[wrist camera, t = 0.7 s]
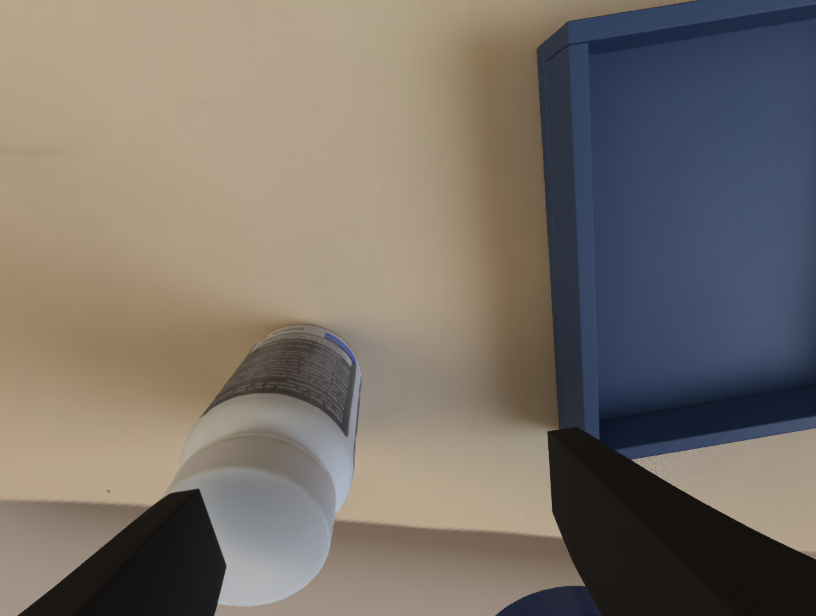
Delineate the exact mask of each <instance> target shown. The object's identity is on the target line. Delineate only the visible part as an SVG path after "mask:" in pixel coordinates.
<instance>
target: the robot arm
mask: <svg viewBox="0 0 816 616" xmlns="http://www.w3.org/2000/svg"><path fill="white" fill-rule="evenodd" d="M547 433H548V449H549V465H550V481H551V497H552V512H553V515H554V517H555V520H556V522H557V525H558V527H559V530H560V532H561V535H562V537H563V540H564V542H565V545H566V547H567V549H568V552H569V554H570V556H571V558H572V561H573V563H574V565H575V567H576V569H577V571H578V573H579V575H580V576H581V578H582V580H583V582H584V584H585V586H586V588H587V589H588V591H589V593H590V595H591V597H592V599H593V601H594V603H595V604H596V606H597V608H598V610H599V612H600V614H601V615H602V616H816V560H815V559H813V558H811V557H809V556H807V555H805V554H803V553H801V552H799V551H796V550H794V549H792V548H790V547H788V546H786V545H784V544H782V543H780V542H777V541H775V540H773V539H771V538H769V537H767V536H765V535H763V534H761V533H759V532H757V531H755V530H753V529H751V528H749V527H747V526H746V525H744V524H742V523H740V522H738V521H736V520H734V519H732V518H731V517H729V516H727V515H725V514H723V513H721V512H719V511H718V510H716V509H714V508H712V507H710V506H708V505H706V504H705V503H703V502H701V501H699V500H697V499H696V498H694V497H692V496H690V495H689V494H687V493H685V492H683V491H682V490H680V489H678V488H676V487H675V486H673V485H671V484H670V483H668V482H666V481H665V480H663V479H661V478H660V477H658V476H656V475H654V474H653V473H651V472H650V471H648V470H646V469H645V468H643V467H641V466H640V465H638V464H636V463H635V462H633V461H632V460H630V459H628V458H627V457H625V456H624V455H622V454H620V453H619V452H617V451H616V450H614V449H612V448H611V447H609V446H608V445H606V444H605V443H603V442H601V441H600V440H598V439H597V438H595V437H593V436H592V435H590V434H589V433H587V432H585V431H584V430H582V429H580V428H578V427H571V428H564V429H558V430H552V431H547ZM226 567H227V565H226V562H225V560H224V557H223V554H222V551H221V548H220V545H219V543H218V540H217V537H216V534H215V531H214V529H213V526H212V523H211V520H210V517H209V514H208V512H207V509H206V506H205V503H204V500H203V497H202V495H201V492H200V489H193V490H187V491H180V492H174V493H169V494H168V495H167V496H165V497H164V498H162V499H161V500H160V501H158V502H157V503H156V504H154V505H153V506H152V507H151V508H149V509H148V510H147V511H146V512H144V513H143V514H142V515H141V516H139V517H138V518H137V519H136V520H134V521H133V522H132V523H131V524H129V525H128V526H127V527H126V528H125V529H123V530H122V531H121V532H120V533H119V534H117V535H116V536H115V537H114V538H113V539H112V540H110V541H109V542H108V543H107V544H105V545H104V546H103V547H102V548H101V549H99V550H98V551H97V552H96V553H95V554H93V555H92V556H91V557H90V558H89V559H87V560H86V561H85V562H84V563H83V564H81V565H80V566H79V567H78V568H77V569H75V570H74V571H73V572H72V573H70V574H69V575H68V576H67V577H66V578H65V579H63V580H62V581H61V582H60V583H59V584H57V585H56V586H55V587H54V588H52V589H51V590H50V591H48V592H47V593H46V594H45V595H43V596H42V597H41V598H40V599H38V600H37V601H36V602H34V603H33V604H32V605H31V606H29V607H28V608H27V609H26V610H24V611H23V612H22V613H21V614H19V615H18V616H214V614H215V611H216V607H217V604H218V600H219V596H220V592H221V588H222V584H223V580H224V576H225V572H226Z"/></svg>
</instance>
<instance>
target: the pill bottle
mask: <svg viewBox="0 0 816 616" xmlns="http://www.w3.org/2000/svg"><path fill="white" fill-rule="evenodd" d="M360 399H361V371H360V367H359V363H358V361H357V358H356V356H355V354H354V353H353V351H352V350H351V348H350V347H349V346H348V345H347V344H346V343H345V342H344V340H342V339H341V338H340V337H339V336H337V335H336V334H334V333H332V332H330V331H328V330H325V329H323V328H320V327H316V326H312V325H293V326H287V327H283V328H280V329H278V330H275V331H273V332H271V333H269V334H268V335H266V336H265V337H264V338H262V339H261V340H260V341H259V342H258V343H257V344H256V345H255V346H254V347H253V348H252V350H251V351H250V352H249V354H248V355H247V356H246V358H245V359H244V361H243V362H242V363H241V365H240V366H239V367H238V368H237V370H236V371H235V373H234V374H233V375H232V377H231V378H230V379H229V380H228V382H227V383H226V384H225V385H224V387H223V389H222V390H221V391H220V392H219V394H218V395H217V396H216V398H215V399H214V401H213V402H212V403H211V404H210V406H209V407H208V408H207V410H206V411H205V412H204V413H203V415H202V416H201V417H200V418H199V419H198V421H197V422H196V424H195V425H194V426H193V428H192V430H191V432H190V434H189V435H188V437H187V439H186V441H185V444H184V446H183V449H182V453H181V457H180V467H179V471H178V472H177V474H176V475H175V477H174V479H173V481H172V483H171V484H170V486H169V488H168V489H167V491H166V492H165V494H164V496H163V497H162V498H164V497H165V496H167V495H168V494H169V493H174V492H180V491H187V490H193V489H200V492H201V495H202V497H203V500H204V503H205V506H206V509H207V512H208V514H209V517H210V520H211V523H212V526H213V529H214V531H215V534H216V537H217V540H218V543H219V545H220V548H221V551H222V554H223V557H224V560H225V562H226V565H227V567H226V572H225V576H224V580H223V584H222V588H221V592H220V596H219V600H218V604H222V605H231V606H258V605H264V604H269V603H273V602H276V601H279V600H282V599H285V598H287V597H288V596H290V595H292V594H294V593H295V592H297V591H299V590H301V589H302V588H303V587H305V586H306V585H307V584H308V583H309V582H310V581H311V580H312V579H313V578H314V577H315V576H316V575H317V574H318V572H319V571H320V570H321V568H322V566H323V564H324V562H325V560H326V558H327V555H328V552H329V549H330V544H331V538H332V530H333V524H334V518H335V515H336V514H337V513H338V511H339V510H340V509H341V507H342V505H343V504H344V502H345V500H346V498H347V496H348V493H349V490H350V487H351V484H352V479H353V473H354V461H355V448H356V435H357V426H358V416H359V406H360Z"/></svg>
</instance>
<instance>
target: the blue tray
mask: <svg viewBox="0 0 816 616" xmlns="http://www.w3.org/2000/svg"><path fill="white" fill-rule="evenodd" d="M537 59H538V76H539V93H540V109H541V126H542V143H543V160H544V177H545V193H546V210H547V227H548V244H549V261H550V278H551V294H552V311H553V328H554V345H555V362H556V378H557V395H558V412H559V429H564V428H571V427H578V428H580V429H582V430H584V431H585V432H587V433H589V434H590V435H592V436H593V437H595V438H597V439H598V440H600V441H601V442H603V443H605V444H606V445H608V446H609V447H611V448H612V449H614V450H616V451H617V452H619V453H620V454H622V455H624V456H625V457H627V458H628V459H630V460H632V459H638V458H643V457H649V456H655V455H661V454H667V453H673V452H679V451H684V450H690V449H696V448H702V447H708V446H714V445H720V444H725V443H731V442H737V441H743V440H749V439H755V438H760V437H766V436H772V435H778V434H784V433H790V432H796V431H801V430H807V429H813V428H816V0H697V1H691V2H684V3H678V4H672V5H666V6H660V7H653V8H647V9H641V10H635V11H629V12H622V13H616V14H610V15H604V16H598V17H591V18H585V19H579V20H573V21H568V22H567V23H566V24H565V25H563V26H562V27H561V28H560V29H559V30H558V31H556V32H555V33H554V34H553V35H552V36H551V37H549V38H548V39H547V40H546V41H545V42H544V43H543V44H542V45H541V46H539V47H538V48H537Z"/></svg>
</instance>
